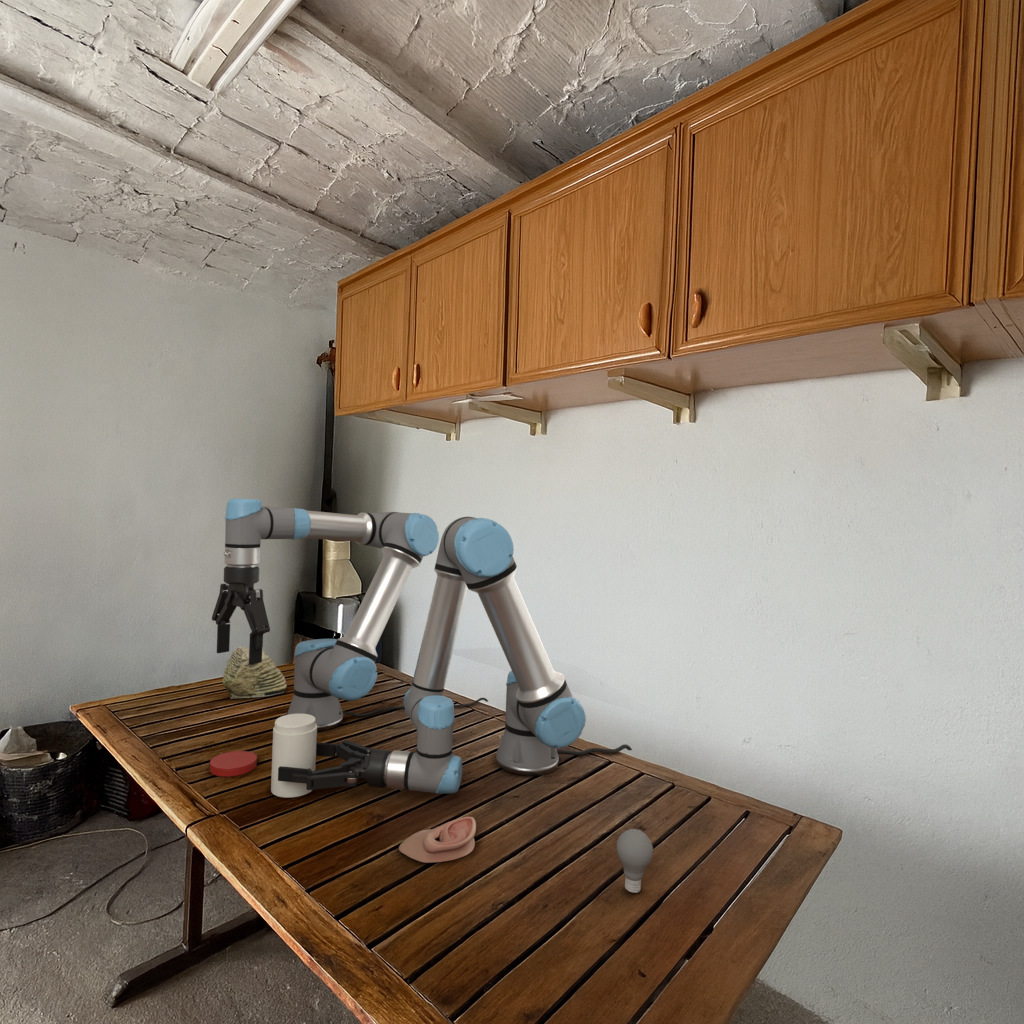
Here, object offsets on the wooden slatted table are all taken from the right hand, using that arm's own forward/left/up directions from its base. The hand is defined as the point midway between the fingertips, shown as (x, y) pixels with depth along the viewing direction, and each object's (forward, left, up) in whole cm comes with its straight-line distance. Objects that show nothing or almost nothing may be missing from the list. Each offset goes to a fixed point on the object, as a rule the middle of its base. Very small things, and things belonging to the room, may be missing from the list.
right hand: (293, 760), depth 137 cm
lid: (+13, -14, -5) cm, 19 cm away
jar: (0, 0, -6) cm, 6 cm away
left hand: (+12, -14, +19) cm, 27 cm away
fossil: (+11, -68, -6) cm, 69 cm away
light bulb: (-53, +53, -6) cm, 75 cm away
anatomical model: (-25, +31, -6) cm, 40 cm away
